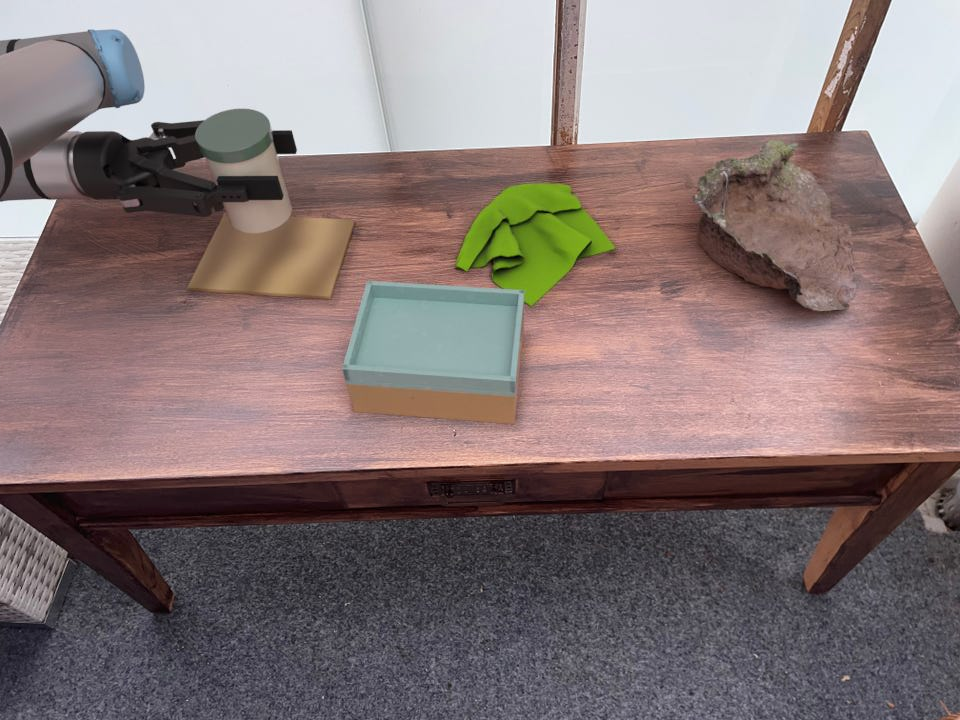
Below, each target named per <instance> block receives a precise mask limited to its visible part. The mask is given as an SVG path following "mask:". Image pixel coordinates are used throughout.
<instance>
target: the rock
mask: <svg viewBox="0 0 960 720" xmlns="http://www.w3.org/2000/svg"><path fill="white" fill-rule="evenodd" d="M797 147H799V144H798V143H796V142H795V143H790V144H785V142H784V141H782V140H779V139H771V140H769V141H768V142H767V143H766V142H765V143H763V145H762V146H761V147H760V148H759V153H757V154H753V155H751V156H749V157H747V156H746V157H744V158H743V157H742V158H737V157H732V158H726V159H721V160H720V161H717V162H716V164H715V165H714V166H711V168H709V169H706V170H705V172H704V173H705V175H702V176H700V178H699V180H697V184H696V185H697V186H696V187H697V190H696V192H697V193H695V194H694V195H692V199H693V201H692V202H694V204H697V207H698V208H699V209H700V210H701V212H702V215H701V218H700V220H699V222H698V227H697V231H696V232H697V233H696V240H697V242H698V243H699V244H700V245H701V248H702V250H703V251H704V252H705V253H707V254H708V256H709V257H710V258H711V259H712V260H713V262H715V263H716V264H717V265H719V266H721V267H722V268H724V269H726V270H727V271H728V272H730V273H732V274H736V275H738V276H739V277H741V278H743V279H744V281H745V282H748V283H751V284H755V285H757V286H759V287H765V288H766V287H768V288H769V287H770V288H773V289H775V290H784V289H785V290H786V289H788V293H789V296H790V298H791V299H792V300H794V301H795V302H796V303H798V304H799V305H801V306H802V307H804V308H806V309H810V310H812V311H817V312H831V311H837V310H839V311H842V310H847V309H848V308H850V306H851V305H850V304H849V302H850V301H851V300H852V299H853V298H854V297H856V290H857V287H858V284H857V279H856V275H855V270H856V264H855V257H854V253H853V245H854V241H853V231H852V227H851V226H850V224H848V223H847V222H841V221H837V220H836V219H835V218H834V217H832V215H831V214H832V210H831V206H832V205H831V203H832V202H831V199H830V197H828V196H827V193H826V191H825V190H824V189H823V188H822V185H820V184H819V182H818V180H817V178H816V177H815V175H814V173H812V172H811V171H810V170H808V169H804V168H803V167H801V166H798V165H797V164H795V163H793V162H790V161H789V160H790V159H791V158H794V157H793V156H794V153H793V152H796V151H797V149H796V148H797Z"/></svg>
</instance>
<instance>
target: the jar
mask: <svg viewBox="0 0 960 720" xmlns="http://www.w3.org/2000/svg"><path fill="white" fill-rule="evenodd" d="M203 120H204V121H203V122H202V123H201V124H200V125H199V127H198V128H197V130H196V133H195V139H196V142H197V144H198V147H199V149H200V152H201V153H202V155H203V156H204V157H205V158H204V159H205V163H206V165H207V168H208V170H209V173H210V175H211V177H212V180H213V182H215V184H216V185H218V183H217V178H218V176H278V179H279V182H280V185H281V189H282V192H283V195H284V196H283V199H282V200H249V201H247V202H223V205H224V212H225V213H226V214H227V216H228V219H229V221H230V223H231V225H232V226H233V227H234V228H236V229H237V230H239V231H242V232H246V233H262V232H267V231H270V230H273V229H275V228H277V227H279V226H281V225H282V224H283V223H285V222H286V221H287V220H288V218H289V217H290V216H291V215H292V213H293V203H292V200H291V196H290V193H289V190H288V186H287V183H286V179H285V176H284V172H283V168H282V166H281V163H280V159H279V156H278V155H279V154H277V152H276V148H275V145H274V142H273V132H272V131H273V128H272V125H271V121H270V119H269V118H268V116H267V115H265V114H264V113H263V112H261V111H259V110H255V109H251V108H231V109H227V110H223V111H220V112H217V113H215V114H212V115H210V116H209V117H207V118H206V119H203Z"/></svg>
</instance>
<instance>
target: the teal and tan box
mask: <svg viewBox="0 0 960 720" xmlns="http://www.w3.org/2000/svg"><path fill="white" fill-rule="evenodd" d="M524 296H525V290H512V289H502V288H494V287H478V286H464V285H463V286H461V285H444V284H428V283H427V284H426V283H412V282H411V283H410V282H396V281H394V282H393V281H380V280H379V281H378V280H377V281H376V280H367V281H366V283H365V287H364V289H363V294H362V297H361V301H360V305H359V308H358V310H357V315H356V317H355V321H354V324H353V328H352V332H351V334H350V335H351V336H350V339H349V341H348V342H349V343H348V345H347V346H348V347H347V349H346V353H345V356H344V360H343V363H342V366H341V371H342V374H343V377H344V381H345V384H346V388H347V391H348V394H349V397H350V403H351V405H352V408H353V412H354V413H362V414H363V413H366V414H375V415H377V414H379V415H388V416H389V415H391V416H404V417H417V418H427V419H428V418H429V419H441V420H453V421H455V420H456V421H467V422H479V423H480V422H481V423H492V424H493V423H494V424H509V425H515V424H516V417H517V407H518V405H517V404H518V395H519V385H520V376H521V375H520V374H521V364H522V355H523V354H522V353H523V345H524V344H523V343H524V341H523V340H524V324H525V323H524V322H525V302H524Z"/></svg>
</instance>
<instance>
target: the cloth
mask: <svg viewBox="0 0 960 720" xmlns="http://www.w3.org/2000/svg"><path fill="white" fill-rule="evenodd" d="M580 201H581V200H580V199H579V198H578V196H576V195H573V194H572V187H571V185H568V184H563V183H551V182H540V183H539V182H538V183H529V182H528V183H523V184H518V185H509V186H508V187H505V188H504V189H502V190H501V191H500V194H499V195H497V196H495V197H494V199H493V200H492V201H491V202H490V203H489V204H488V205H486V206H485V207H484V208H483V209H481V211H479V213H478V214H477V216H476V217H475V219H474V221H473V223H472V224H471V226H470V228H469V230H468V232H467V234H466V235H465V237H464V239H463V241H462V244H461V248H460V250H459V253H458V255H457V257H456V262H455V265H454V268H455V269H462V270H463V271H465V272H466V273H468V272H469V270H470V269H477V268H478V269H479V268H483V267H486V266H487V265H488V263H489V261H491V260H492V259H493V260H492V264H493V265H492V267H491V269H492V270H491V278H492V279H491V280H492V282H493V284H495V285H497V286H498V287H499V288H500V289H512V290H525V296H524V304H525V305H526V304H527V305H528V306H529V307H533V306H534V305H535V304H537V302H539V301H540V299H542V297H544V296H545V295H546V294H547V293H548V292H549V291H550V290H551V289H552V288H553V287H555V285H557V283H559V282H560V281H561V280H562V279H563V278H564V277H565V276H566V275H567V274H568V273H569V272H570V271H571V270H572V269H573V267H574V265H575V263H576V261H577V260H580V259H584V258H587V257H592V256H597V255H600V254H603V253H606V252H610V251H614V250H616V248H617V247H615V245H614V244H613V242H612V241H611V240H610V239H609V237H608V236H607V235H606V233H605V232H604V231H603V230H602V228H601V227H600V226H599V225H598V223H597V222H596V221H595V220H594V218H593V217H591V216H590V214H588V212H587V211H586V209H584V207H582V204H581V202H580Z"/></svg>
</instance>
